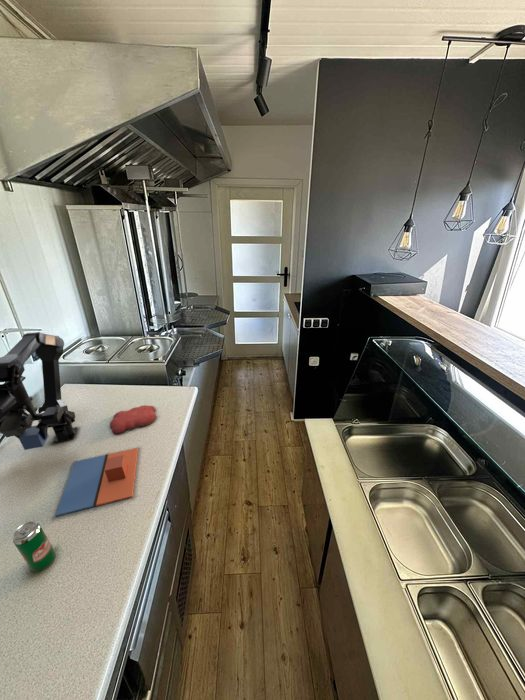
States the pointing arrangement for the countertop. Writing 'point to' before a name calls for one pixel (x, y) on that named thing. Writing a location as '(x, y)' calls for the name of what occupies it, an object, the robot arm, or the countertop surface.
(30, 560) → the soda can
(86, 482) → the sorting mat
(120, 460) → the terracotta block
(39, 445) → the slate-blue block
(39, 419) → the robot arm
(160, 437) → the countertop surface
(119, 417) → the red lumpy blob
